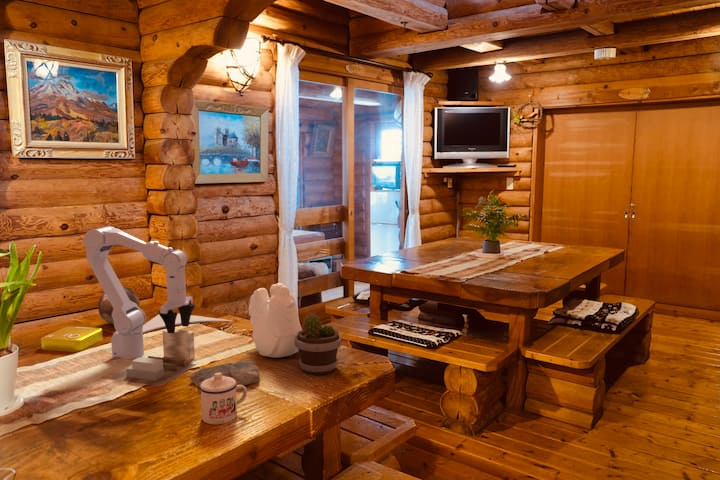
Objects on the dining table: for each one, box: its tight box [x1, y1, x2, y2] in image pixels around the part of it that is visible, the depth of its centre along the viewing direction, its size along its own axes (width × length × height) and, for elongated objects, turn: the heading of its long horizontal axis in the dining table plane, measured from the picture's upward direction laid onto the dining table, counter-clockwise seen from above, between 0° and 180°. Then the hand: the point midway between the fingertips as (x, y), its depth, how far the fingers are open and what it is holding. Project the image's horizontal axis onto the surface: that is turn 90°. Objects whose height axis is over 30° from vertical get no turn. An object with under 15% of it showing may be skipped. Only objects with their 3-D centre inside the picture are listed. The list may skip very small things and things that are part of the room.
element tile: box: [40, 325, 104, 353], centre depth 201 cm, size 15×15×5 cm
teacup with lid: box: [199, 373, 248, 425], centre depth 144 cm, size 12×9×12 cm
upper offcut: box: [131, 356, 163, 372], centre depth 168 cm, size 8×4×2 cm, turn 73°
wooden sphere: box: [97, 286, 141, 326], centre depth 223 cm, size 15×15×15 cm
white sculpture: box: [248, 282, 303, 358], centre depth 191 cm, size 25×16×25 cm, turn 31°
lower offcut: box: [125, 365, 164, 381], centre depth 168 cm, size 10×4×2 cm, turn 73°
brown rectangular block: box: [162, 329, 196, 361], centre depth 184 cm, size 10×2×9 cm, turn 73°
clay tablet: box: [189, 360, 261, 390], centre depth 167 cm, size 14×5×20 cm
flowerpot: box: [294, 310, 343, 376], centre depth 175 cm, size 14×15×20 cm
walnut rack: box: [108, 355, 197, 387], centre depth 172 cm, size 18×18×3 cm
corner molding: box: [143, 312, 233, 334], centre depth 216 cm, size 30×2×30 cm
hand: (178, 329), depth 183 cm, fingers open, 7 cm apart
